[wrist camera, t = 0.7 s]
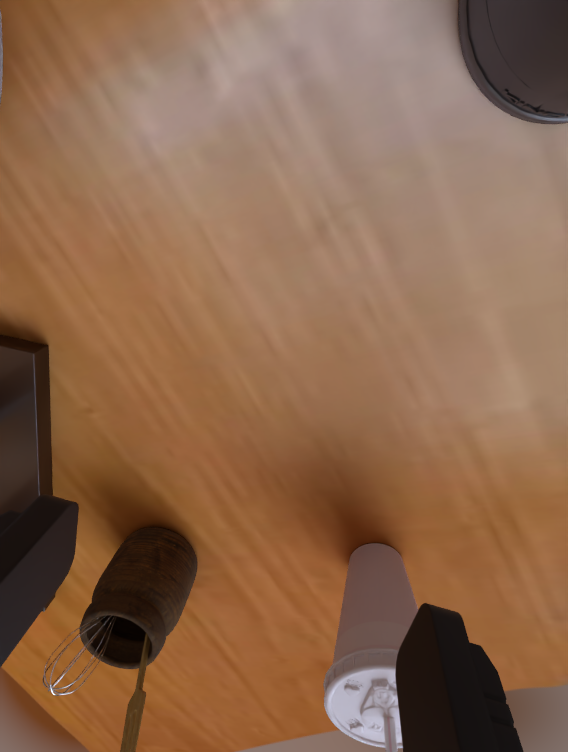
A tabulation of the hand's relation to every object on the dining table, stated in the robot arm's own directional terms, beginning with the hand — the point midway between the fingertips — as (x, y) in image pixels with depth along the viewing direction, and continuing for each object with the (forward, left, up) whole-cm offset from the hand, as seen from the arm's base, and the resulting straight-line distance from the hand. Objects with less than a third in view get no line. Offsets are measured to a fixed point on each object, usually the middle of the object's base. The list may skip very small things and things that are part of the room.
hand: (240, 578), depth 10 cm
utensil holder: (+19, -7, -18) cm, 27 cm away
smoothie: (+15, +8, -18) cm, 24 cm away
